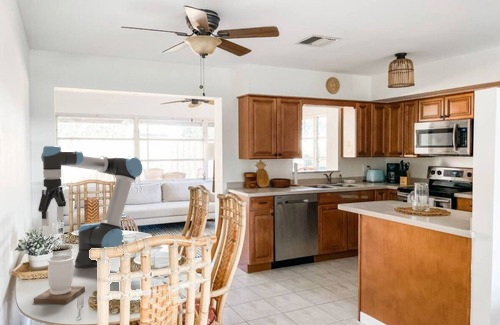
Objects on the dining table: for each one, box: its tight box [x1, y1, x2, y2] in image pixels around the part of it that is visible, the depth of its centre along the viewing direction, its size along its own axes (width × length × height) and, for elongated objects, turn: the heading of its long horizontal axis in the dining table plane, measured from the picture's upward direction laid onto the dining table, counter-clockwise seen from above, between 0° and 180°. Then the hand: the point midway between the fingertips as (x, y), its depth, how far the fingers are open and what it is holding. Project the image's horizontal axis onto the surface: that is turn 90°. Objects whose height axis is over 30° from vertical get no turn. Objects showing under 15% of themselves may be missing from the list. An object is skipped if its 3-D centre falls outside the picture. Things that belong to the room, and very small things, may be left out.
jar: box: [47, 254, 75, 295], centre depth 166 cm, size 11×10×15 cm
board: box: [33, 285, 86, 305], centre depth 166 cm, size 16×14×2 cm
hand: (53, 222), depth 180 cm, fingers open, 13 cm apart
